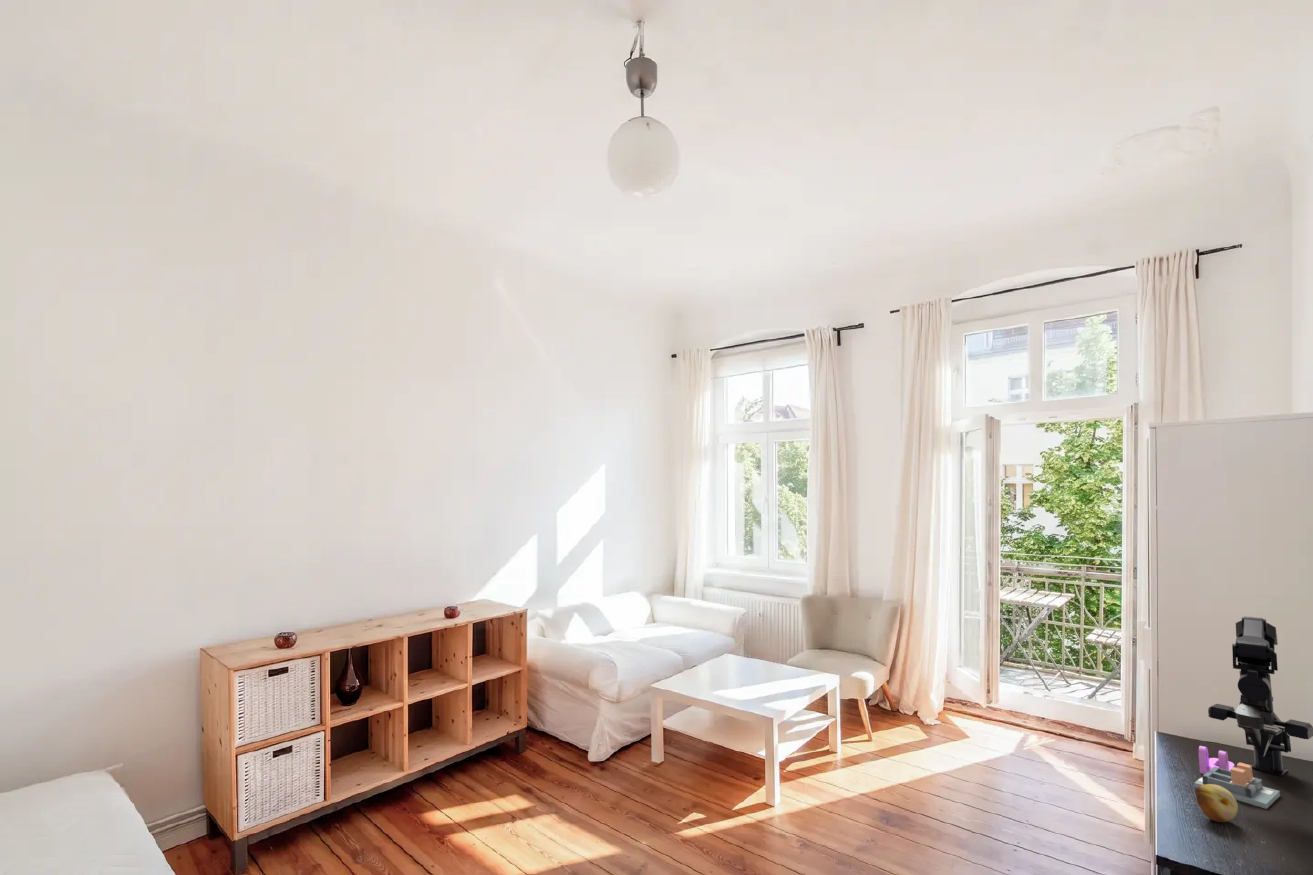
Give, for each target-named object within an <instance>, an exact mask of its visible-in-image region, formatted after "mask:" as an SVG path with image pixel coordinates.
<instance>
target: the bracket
mask: <svg viewBox="0 0 1313 875" xmlns="http://www.w3.org/2000/svg"><path fill="white" fill-rule="evenodd" d="M1217 754H1218V755H1217V756H1218V757H1209V756H1210V755H1209V749H1208V747H1207V746H1203V745H1199V747H1198V763H1199V765H1198V766H1199V773H1200V774H1203V775H1204V774H1205V773H1207V772H1208V771H1209V770H1211V769H1212V768H1214V767H1218V768H1222V769H1225V770H1229V771H1231V768H1233V767H1236V766H1235V764H1234V762H1232V761H1229V755H1228V752H1227V751H1224V750H1221V749H1220V750H1218V753H1217Z"/></svg>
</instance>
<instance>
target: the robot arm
mask: <svg viewBox="0 0 1313 875" xmlns="http://www.w3.org/2000/svg"><path fill="white" fill-rule="evenodd" d="M1235 636H1236V638H1235V643H1232V646H1231V647H1232V648H1231V649H1232V669H1235V670H1239V679H1238V681H1237V688H1238V690H1239V693H1240V697H1239V698H1240V701H1239V703H1238V706H1237V707H1236V708H1235V707H1234V706H1230V705H1225V704H1220V703H1215V704H1213V705H1211V706H1210V707H1208V710H1207V712H1208V718H1210V719H1214V720H1215V719H1216V720H1219V721H1225V720H1227V719H1228V718H1230V719H1233V720H1236V722H1237V727H1238V728H1240V729H1242V730H1244V735H1245V743H1246V745H1247V746H1248V745H1249V746H1252V747H1253V757H1254V758H1253V760H1254V762H1253V763H1252V764H1250V765H1251V766H1252V769H1254V770H1258V771H1263V772H1267V773H1270V774H1273V775H1277V776H1284V774H1286V773H1287V772H1288V768H1287V767H1284V766H1283V754H1282V752H1284V753H1286V754H1287V753H1292V746H1291V745H1292V744H1291V738H1290V737H1292V738H1293V737H1294V738H1299V739H1303V740H1309V739H1311V738H1313V725H1312V724H1311V723H1310V722H1304V721H1301V720H1296V719H1291V718H1290V719H1288V720H1287V721H1282V720H1281V719H1280V718H1279V717H1278V715H1277V714H1276V713H1275V712H1274V704H1273V702H1274V697H1273V691H1272V680H1271V675H1275V671H1276V672H1277V671H1279V669H1278V654H1277V653H1276V652H1275V651H1276V650H1275V649H1276V647H1275V646H1278V645H1279V643H1278V633H1277V628H1276V627H1275V626H1274V625H1272V624H1270V623H1268V622H1267V619H1266V618H1263V617H1254V616H1241V620H1240V621H1237V622H1235Z"/></svg>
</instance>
